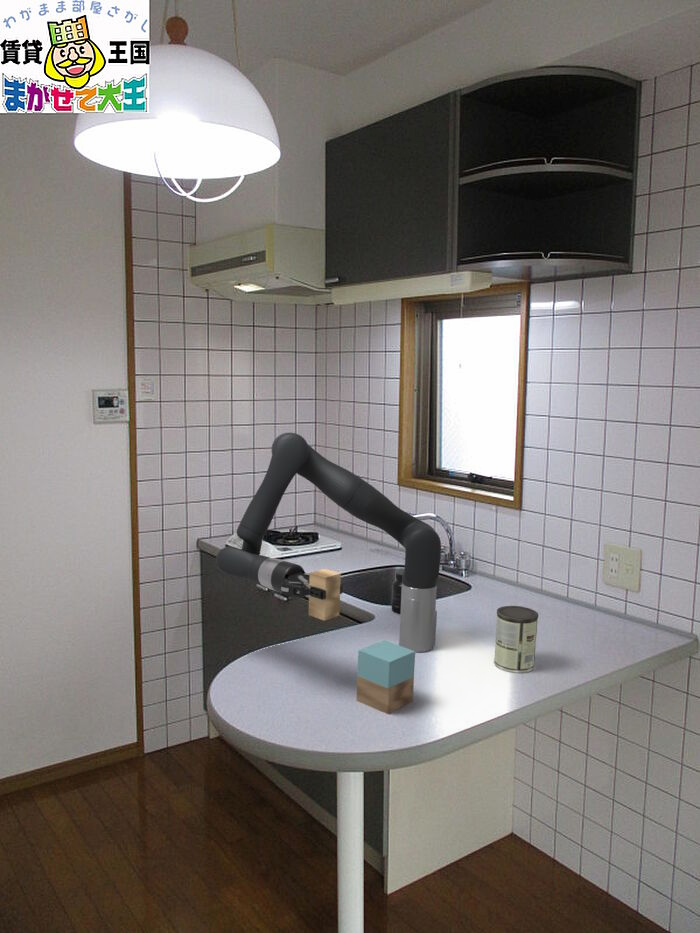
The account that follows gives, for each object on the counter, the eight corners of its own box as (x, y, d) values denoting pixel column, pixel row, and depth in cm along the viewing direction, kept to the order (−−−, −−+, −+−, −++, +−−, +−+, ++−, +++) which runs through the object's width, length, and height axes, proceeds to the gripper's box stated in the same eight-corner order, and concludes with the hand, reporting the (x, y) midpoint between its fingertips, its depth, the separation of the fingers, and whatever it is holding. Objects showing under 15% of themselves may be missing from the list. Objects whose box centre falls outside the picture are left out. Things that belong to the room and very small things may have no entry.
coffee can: (501, 654, 206) (504, 602, 204) (539, 663, 201) (543, 610, 199) (487, 666, 197) (490, 613, 195) (527, 676, 192) (531, 621, 190)
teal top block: (383, 664, 181) (384, 640, 180) (413, 676, 175) (415, 651, 174) (357, 675, 175) (358, 650, 174) (388, 688, 168) (389, 662, 168)
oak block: (323, 610, 182) (324, 568, 181) (339, 615, 179) (340, 573, 178) (308, 615, 179) (309, 572, 177) (324, 620, 175) (325, 577, 174)
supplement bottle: (399, 605, 242) (401, 568, 240) (417, 611, 237) (419, 573, 236) (386, 611, 236) (388, 572, 235) (404, 616, 232) (406, 577, 230)
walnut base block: (381, 689, 182) (382, 665, 181) (412, 701, 176) (413, 676, 175) (356, 701, 175) (357, 676, 174) (387, 714, 169) (388, 688, 168)
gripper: (259, 566, 181) (311, 582, 170) (302, 555, 192) (354, 570, 181) (258, 597, 182) (310, 615, 171) (301, 585, 193) (353, 601, 182)
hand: (333, 592), depth 176 cm, fingers closed on oak block, 5 cm apart
